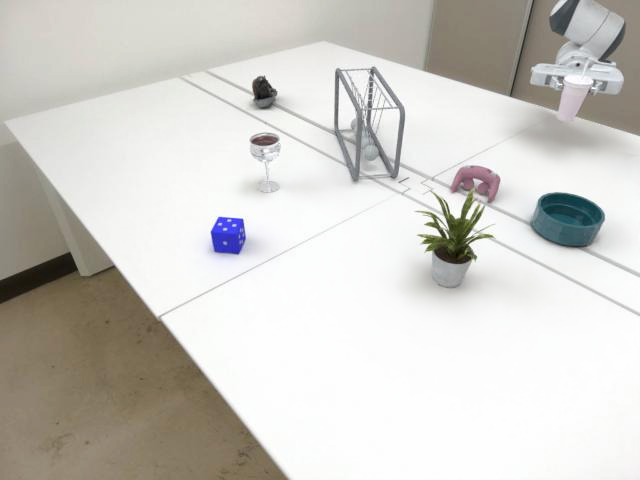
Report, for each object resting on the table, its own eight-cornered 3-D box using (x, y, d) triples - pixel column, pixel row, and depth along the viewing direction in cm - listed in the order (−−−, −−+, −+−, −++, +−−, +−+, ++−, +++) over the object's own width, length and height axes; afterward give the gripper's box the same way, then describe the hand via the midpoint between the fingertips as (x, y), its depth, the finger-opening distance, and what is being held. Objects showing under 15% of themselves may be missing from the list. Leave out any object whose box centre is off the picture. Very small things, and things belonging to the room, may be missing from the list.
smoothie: (571, 126, 109) (592, 66, 100) (546, 117, 113) (564, 59, 104) (584, 119, 112) (606, 60, 103) (559, 111, 116) (578, 54, 107)
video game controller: (494, 202, 103) (505, 172, 102) (492, 203, 99) (503, 172, 98) (452, 190, 107) (461, 161, 105) (448, 191, 103) (457, 160, 101)
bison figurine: (257, 96, 149) (254, 64, 143) (279, 96, 149) (277, 65, 142) (252, 111, 140) (248, 78, 133) (275, 111, 139) (272, 78, 133)
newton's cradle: (398, 181, 108) (406, 109, 97) (354, 184, 107) (358, 111, 95) (369, 126, 131) (374, 63, 120) (333, 129, 130) (334, 65, 119)
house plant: (415, 240, 90) (427, 168, 80) (487, 257, 86) (510, 183, 76) (398, 288, 80) (409, 212, 70) (479, 309, 76) (504, 232, 66)
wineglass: (262, 197, 102) (257, 149, 95) (249, 184, 107) (243, 137, 99) (288, 188, 105) (286, 141, 98) (274, 175, 110) (270, 129, 102)
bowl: (583, 213, 97) (592, 194, 94) (604, 250, 88) (614, 229, 85) (524, 210, 98) (531, 190, 95) (538, 245, 89) (546, 225, 86)
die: (214, 252, 88) (210, 231, 85) (221, 236, 92) (218, 216, 88) (239, 254, 87) (236, 234, 84) (246, 238, 91) (243, 218, 88)
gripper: (534, 54, 118) (532, 71, 108) (623, 62, 112) (629, 81, 102) (527, 78, 122) (525, 97, 112) (613, 88, 116) (618, 108, 106)
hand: (575, 89), depth 107 cm, fingers closed on smoothie, 6 cm apart
